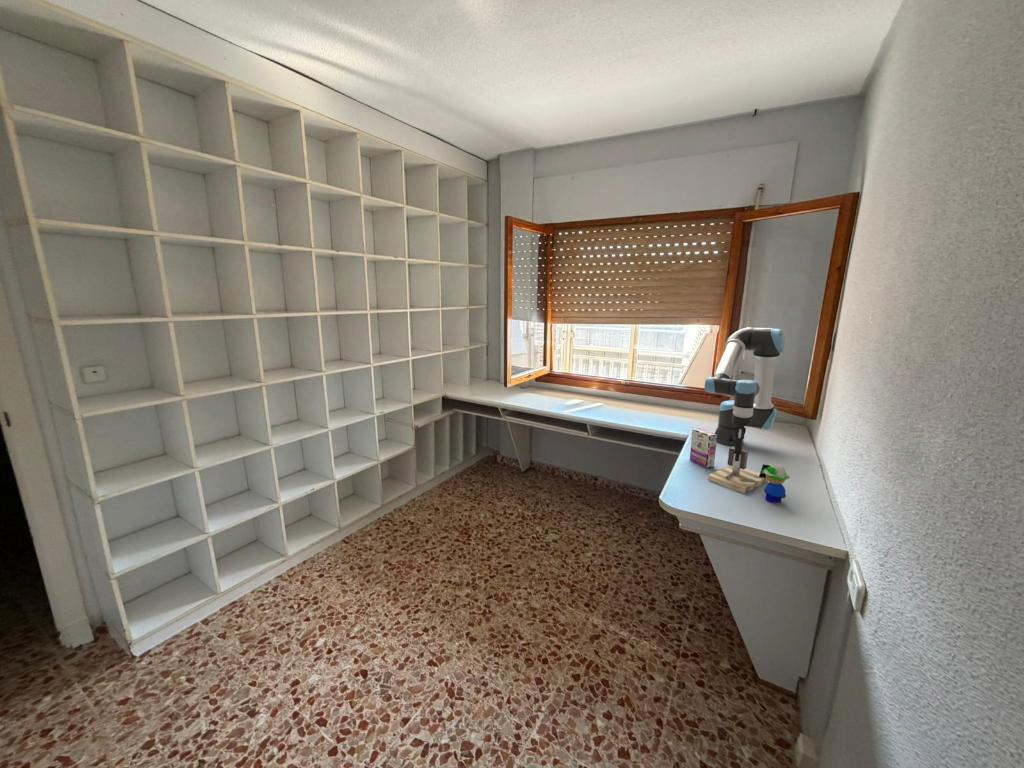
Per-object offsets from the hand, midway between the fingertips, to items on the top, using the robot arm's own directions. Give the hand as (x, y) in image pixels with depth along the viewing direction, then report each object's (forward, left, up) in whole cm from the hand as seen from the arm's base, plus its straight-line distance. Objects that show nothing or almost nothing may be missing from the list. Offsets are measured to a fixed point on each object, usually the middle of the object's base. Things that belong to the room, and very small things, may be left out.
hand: (736, 465), depth 184 cm
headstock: (+2, +2, -6) cm, 7 cm away
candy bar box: (-3, -18, -6) cm, 19 cm away
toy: (+8, +19, -6) cm, 22 cm away
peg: (+4, +1, -3) cm, 5 cm away
